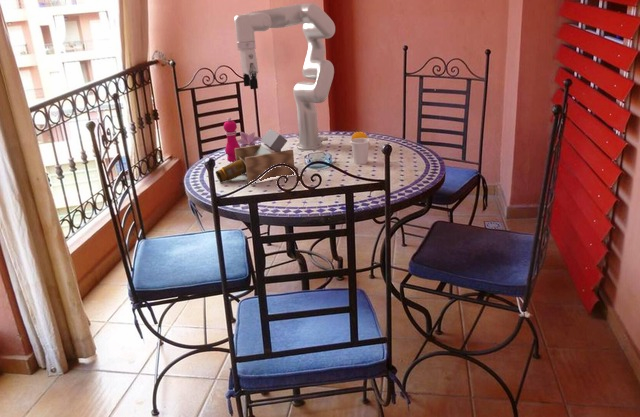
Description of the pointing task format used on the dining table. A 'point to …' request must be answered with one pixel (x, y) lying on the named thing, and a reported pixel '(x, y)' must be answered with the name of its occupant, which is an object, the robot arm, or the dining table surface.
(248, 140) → the lily
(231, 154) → the pepper mill
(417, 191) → the dining table surface
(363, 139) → the dixie cup
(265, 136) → the trapdoor
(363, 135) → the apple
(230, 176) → the condiment
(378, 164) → the dining table surface
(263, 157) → the stand
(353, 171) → the dining table surface
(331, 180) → the dining table surface
